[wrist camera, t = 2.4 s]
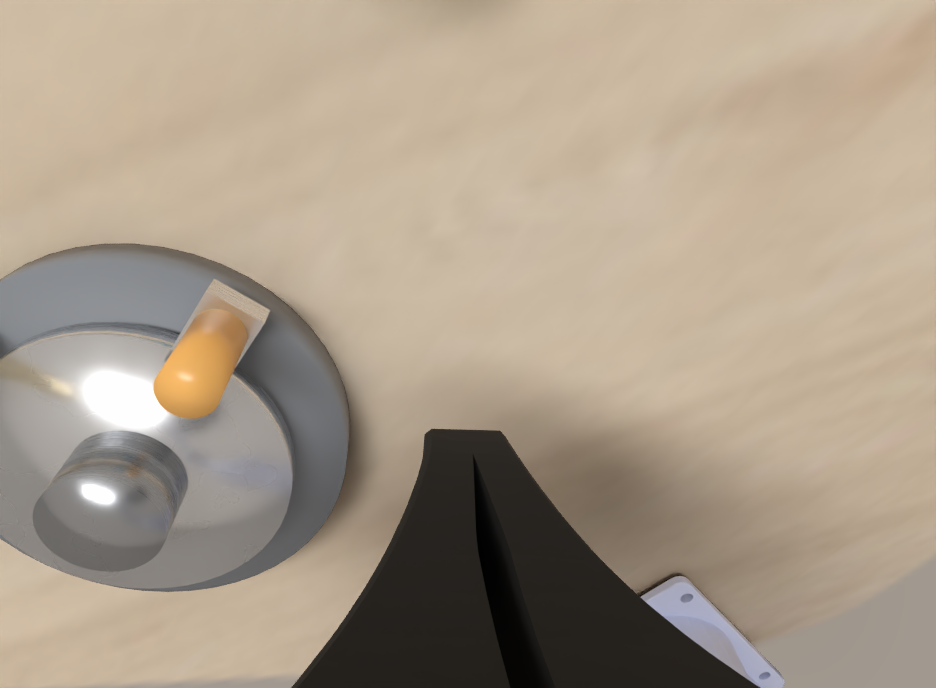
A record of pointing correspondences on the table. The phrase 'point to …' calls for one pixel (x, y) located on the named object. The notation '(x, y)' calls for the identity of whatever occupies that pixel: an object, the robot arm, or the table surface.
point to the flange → (143, 448)
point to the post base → (169, 308)
